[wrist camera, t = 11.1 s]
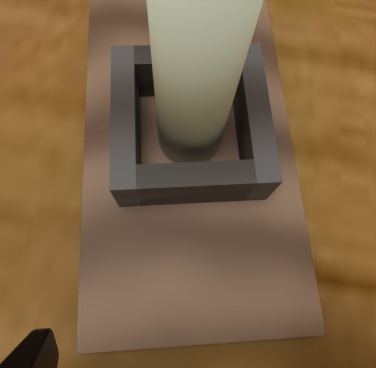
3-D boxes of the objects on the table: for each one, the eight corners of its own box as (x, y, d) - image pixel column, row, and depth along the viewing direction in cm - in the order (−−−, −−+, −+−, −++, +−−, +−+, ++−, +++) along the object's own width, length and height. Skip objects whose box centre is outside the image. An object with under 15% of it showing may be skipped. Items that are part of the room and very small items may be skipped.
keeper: (313, 332, 18) (358, 343, 13) (84, 349, 17) (54, 366, 13) (259, 8, 25) (277, -52, 20) (95, 11, 24) (78, -50, 20)
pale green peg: (191, 178, 19) (228, -58, 6) (145, 138, 19) (98, -146, 7) (232, 136, 20) (335, -139, 7) (187, 99, 20) (211, -209, 8)
